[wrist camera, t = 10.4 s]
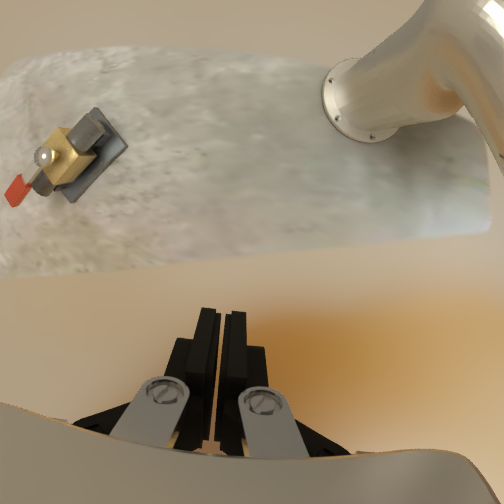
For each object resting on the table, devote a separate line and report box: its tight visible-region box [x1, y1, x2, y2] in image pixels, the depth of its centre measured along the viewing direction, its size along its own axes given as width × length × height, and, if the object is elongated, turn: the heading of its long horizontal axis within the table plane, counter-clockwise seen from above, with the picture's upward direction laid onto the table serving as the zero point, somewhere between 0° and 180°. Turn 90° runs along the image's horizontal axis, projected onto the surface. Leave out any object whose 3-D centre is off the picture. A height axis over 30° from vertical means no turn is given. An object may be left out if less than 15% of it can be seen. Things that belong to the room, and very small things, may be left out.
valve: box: [31, 107, 128, 203], centre depth 35 cm, size 12×8×10 cm, turn 128°
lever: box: [4, 146, 54, 207], centre depth 30 cm, size 9×2×2 cm, turn 127°
